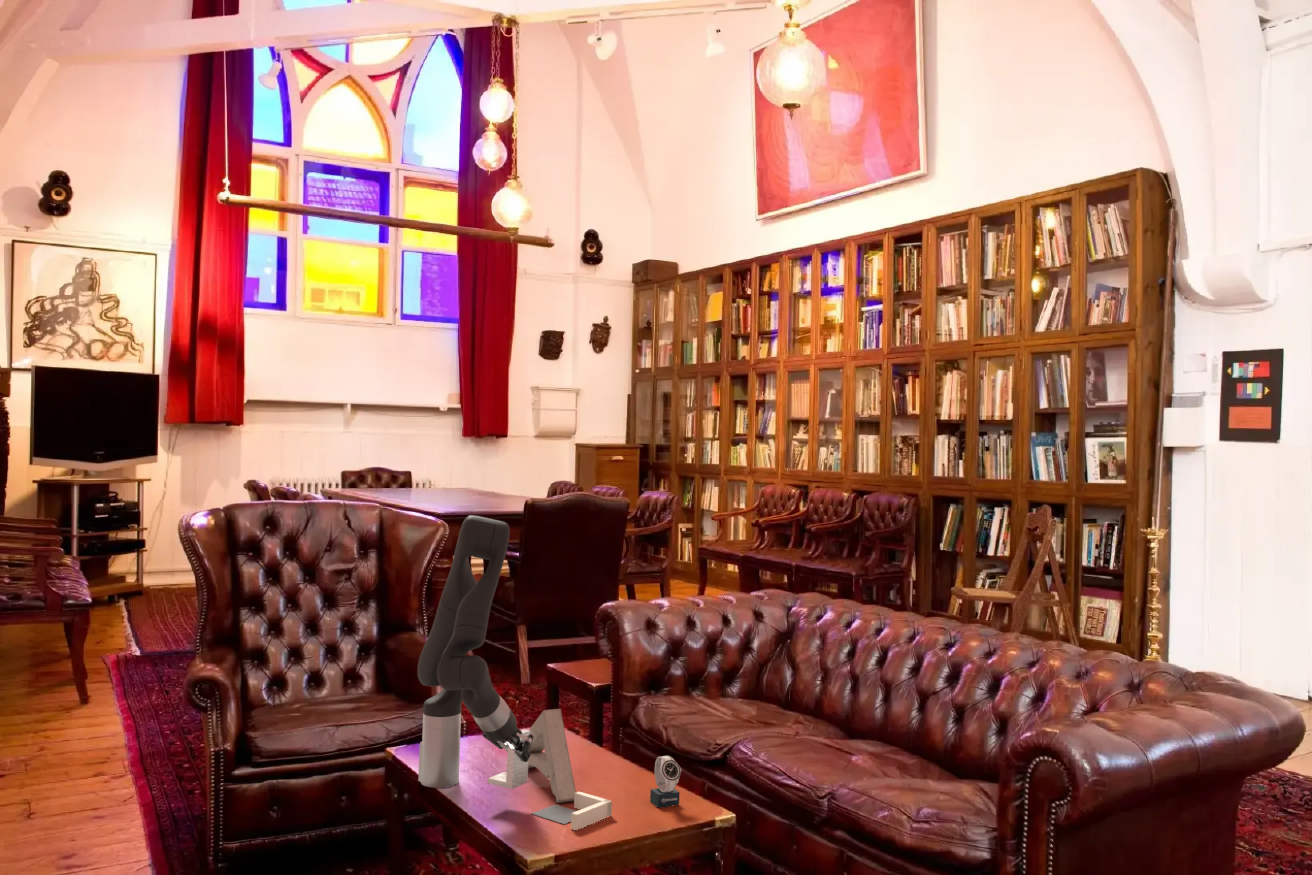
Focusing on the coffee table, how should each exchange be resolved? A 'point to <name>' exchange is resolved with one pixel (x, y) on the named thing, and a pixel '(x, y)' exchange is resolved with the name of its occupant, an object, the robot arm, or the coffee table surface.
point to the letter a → (552, 754)
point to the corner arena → (589, 810)
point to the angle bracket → (512, 770)
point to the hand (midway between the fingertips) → (522, 757)
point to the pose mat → (556, 814)
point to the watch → (665, 782)
